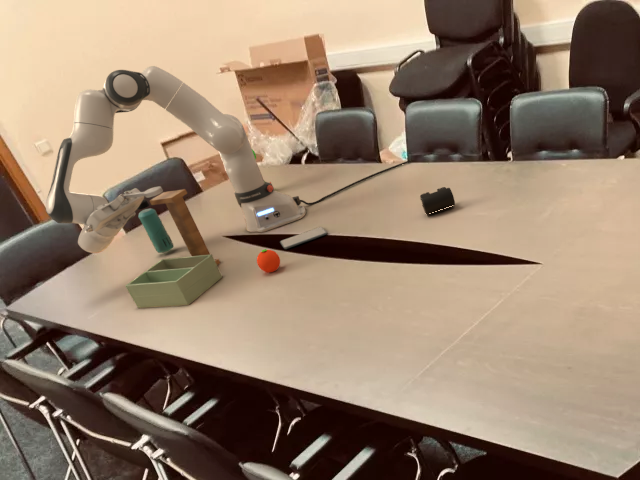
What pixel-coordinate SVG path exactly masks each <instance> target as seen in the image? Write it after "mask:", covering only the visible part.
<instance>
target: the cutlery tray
mask: <svg viewBox="0 0 640 480" xmlns="http://www.w3.org/2000/svg"><path fill="white" fill-rule="evenodd" d="M214 259H215V258H214V255H213V254H211V253H210V255H200V256H191V255H190V256H180V257H169V258H162V259H161V260H159V261H158V262H156V263H155V264H153V265H152V266H151V267H149V268H148V269H146V270H145V271H144V272H142V273H141V274H139V275H138V276H137V277H135V278H134V279H132V280H131V281H129V282H128V283H127V284H125V285H124V286H125V288H126V290H127V292H128V293H129V295H130V297H131V298H132V300H133V302H134V303H135V306H136V307H137V309H146V308H147V309H148V308H162V307H163V308H165V307H176V306H177V307H179V306H189V305H191V304H192V303H193V302H194V301H196V300H197V299H198V298H199V297H200V296H201V295H203V294H204V293H206V291H208V289H210V288H211V287H212V286H213V285H215V284H216V283H217V282H218V281H220V280H221V279H222V278H223V275H222V272H221V271H220V269H219V267H218V265H217V264H216V262H215V260H214Z"/></svg>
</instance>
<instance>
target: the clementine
mask: <svg viewBox="0 0 640 480" xmlns="http://www.w3.org/2000/svg"><path fill="white" fill-rule="evenodd" d="M256 264H257V266H258V268H259V269H260V270H261V271H263V272H265V273H274V272H276V271H277V270H278V269H279V268H280V265H281V258H280V256H279V254H278V253H277V252H276V251H274V250H272V249H267V248H265V249H262V250H261V251H260V252H259V253H258V255H257V258H256Z"/></svg>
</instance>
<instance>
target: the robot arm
mask: <svg viewBox="0 0 640 480" xmlns="http://www.w3.org/2000/svg"><path fill="white" fill-rule="evenodd" d="M143 101H149V102H152V103H154V104H155V105H157V106H159V108H161V109H163V110H164V111H165V112H167V113H168V114H169V115H171V116H172V117H174V118H176V119H177V120H178V121H180V122H181V123H183V124H184V125H186V126H187V127H188V128H189V129H191V130H192V131H193V132H194V133H195V134H196V135H198V136H199V137H200V138H201V139H202V140H204V141H205V142H206V143H208V144H209V145H210V146H211V147H213V148H214V149H215V150H216V151H217V152H218V153H219V157H220V158H221V161H222V164H223V167H224V170H225V173H226V175H227V178H228V179H229V183H230V184H231V186H232V188H233V190H234V193H233V194H234V197H235V199H236V201H237V204H238V206H239V207H240V208H241V211H242V215H243V218H244V222H245V227H246V228H245V229H246V231H247V232H251V233H253V232H255V233H256V232H258V233H265V232H269V231H270V230H273V229H277V228H279V227H281V226H284V225H287V224H289V223H293V222H295V221H298V220H301V219H302V218H304V216H305V215H306V213H307V210H306V208H305V206H303V205H301V204H302V203H303V204H304V205H306V206H312V205H315V204H319V203H321V202H322V201H324V200H326V199H328V198H331V197H332V196H334V195H337V194H338V193H340V192H342V191H344V190H346V189H348V188H350V187H353V186H355V185H357V184H359V183H362V182H364V181H366V180H368V179H371V178H373V177H376V176H378V175H380V174H383V173H385V172H388V171H390V170H393V169H396V168H398V167H401V166H403V165H402V164H404V165H406V164H410V163H411V162H412V160H410V159H409V160H406V161H403V162H401V163H399V164H396V165H393V166H390V167H388V168H385V169H382V170H380V171H377V172H375V173H373V174H370V175H368V176H365V177H363V178H361V179H359V180H356V181H354V182H352V183H350V184H348V185H345V186H344V187H341V188H339V189H337V190H336V191H334V192H331V193H329V194H327V195H325V196H323V197H321V198H319V199H318V200H315V201H313V202H307V201H305V200H304V199H300V197H299V195H296V196H291V195H289V194H286V193H283V192H280V191H277V190H275V189H274V186H273V184H272V182H271V181H269V182H268V181H266V180H265V179H264V177H263V174H262V172H261V169H260V167H259V165H258V162H257V158H256V159H255V157H254V154H253V151H254V150H253V151H252V149H253V148H252V146H251V144H250V141H249V137H248V135H247V133H246V131H245V128H244V125H243V123H242V121H240V119H239V118H238V117H236V116H234V115H232V114H229V113H222V111H220V109H218V108H216V106H214V105H213V104H212V103H211V102H210V101H209V100H208V99H207V98H206V97H205V96H203V95H201V94H200V93H199V92H197V91H196V90H194V89H193V88H192V87H191V86H189V85H188V84H186V83H185V82H183V81H182V80H181V79H179V78H178V77H177V76H175V75H174V74H171V73H170V72H168V71H166V70H164V69H163V68H160V67H158V66H157V65H156V66H155V65H151V66H147V67H146V68H144V69H143V70H142V72H140V71H139V72H138V71H134V70H133V71H132V70H127V69H116V70H113V71H112V72H110V73H109V74H108V75H107V77H106V79H105V81H104V84H103V87H102V89H99V90H97V89H84V90H81V91H80V92H79V93H78V94H77V97H76V101H75V105H74V112H73V127H72V131H71V133H70V135H69V136H68V137H66V138H64V139H63V140H62V141H61V143H60V146H59V148H58V153H57V155H56V161H55V166H54V170H53V175H52V180H51V184H50V189H49V191H48V194H47V196H46V201H45V212H46V213H47V215H48V216H49V217H50V219H52V220H53V221H54V222H56V223H57V224H76V225H83V227H82V229H81V231H80V233H79V235H78V239H77V244H78V246H79V248H81V249H82V250H83V251H85V252H87V253H91V254H100V253H102V252H103V251H105V250H106V249H107V248H108V247H109V246H110V245H111V244H112V242H113V241H114V239H115V237H116V236H117V235H118V234H119V233H120V231H121V230H122V229H123V228H124V227H125V225H126V224H127V223H129V221H131V220H132V219H133V218H134V217H135V216H136V211H137V210H138V207H139V206H140V204H141V202H142V201H143V200H145V196H142V197H134V198H127V199H126V197H125V196H124V194H131V193H138V192H141V191H140V190H139V189H138V188H136V187H134V188H133V189H131V190H126V191H124V192H123V193H121V194H119V195H118V196H117V197H116V198H115V199H113V200H111V201H109V200H108V199H107V198H106V197H105V196H103V195H98V194H90V193H89V194H88V193H81V192H72V191H70V186H71V185H70V184H71V181H72V177H73V176H72V175H73V170H74V168H75V164H77V162H79V161H80V160H83V159H88V158H93V157H98V156H100V155H101V156H102V155H103V154H105V153H107V152H108V151H109V150H110V149H111V148H112V146H113V143H114V127H115V126H114V122H115V115H116V114H121V113H128V112H133V111H135V110H136V109H137V108H138V107H139V106H141V103H142V102H143Z"/></svg>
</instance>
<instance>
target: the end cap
mask: <svg viewBox="0 0 640 480" xmlns="http://www.w3.org/2000/svg"><path fill="white" fill-rule="evenodd" d="M436 190H437V191H434V192H431V193H430V192H427V191H426V192H424V193H421V194H420V196H419V199H420V201H421V205H422V208H423V211H424V214H425V213H426V214H427V215H426V214H425V215H426V216H427V217H429V216H433V215H436V214H438V213H441V212H445V211H447V210H450V209H453V208H454V207H455V206H456V201H455V197H454V194H453V191H452V189H451V188H450V187H445V186H443V187H439V188H437V189H436ZM452 205H455V206H452ZM449 206H452V207H449ZM446 207H449V208H446ZM444 208H446V209H444ZM440 209H443V210H440ZM438 210H440V211H438ZM435 211H437V212H435ZM432 212H434V213H432ZM429 213H431V214H429Z"/></svg>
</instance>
